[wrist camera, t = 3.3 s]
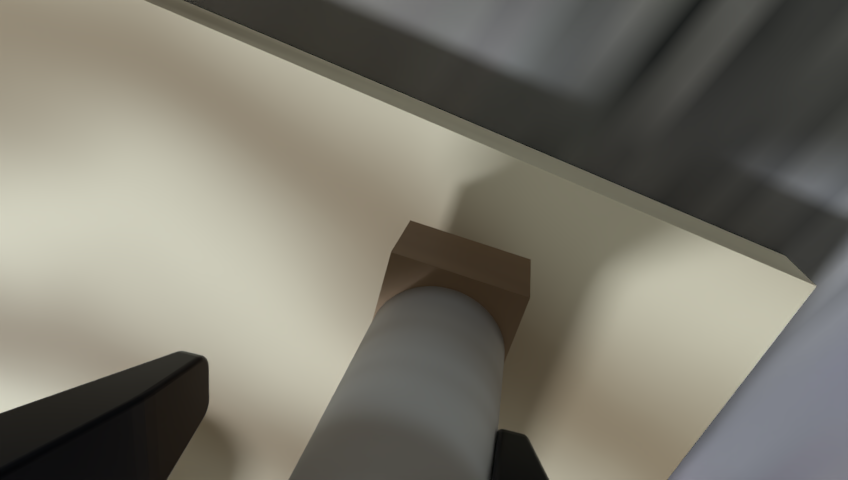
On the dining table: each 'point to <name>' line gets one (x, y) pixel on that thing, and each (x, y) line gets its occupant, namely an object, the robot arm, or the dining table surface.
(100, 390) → the robot arm
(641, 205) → the nutcracker base
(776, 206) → the dining table surface
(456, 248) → the lever
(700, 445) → the dining table surface
